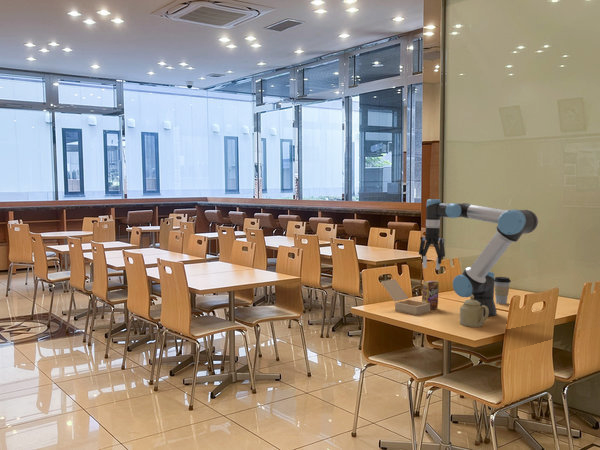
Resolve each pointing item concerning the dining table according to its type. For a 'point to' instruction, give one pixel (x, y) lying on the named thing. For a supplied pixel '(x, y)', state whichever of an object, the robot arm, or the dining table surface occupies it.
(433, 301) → the candy box
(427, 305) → the box
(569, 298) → the dining table surface
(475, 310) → the grey round pot
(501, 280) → the coffee cup
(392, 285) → the lid
